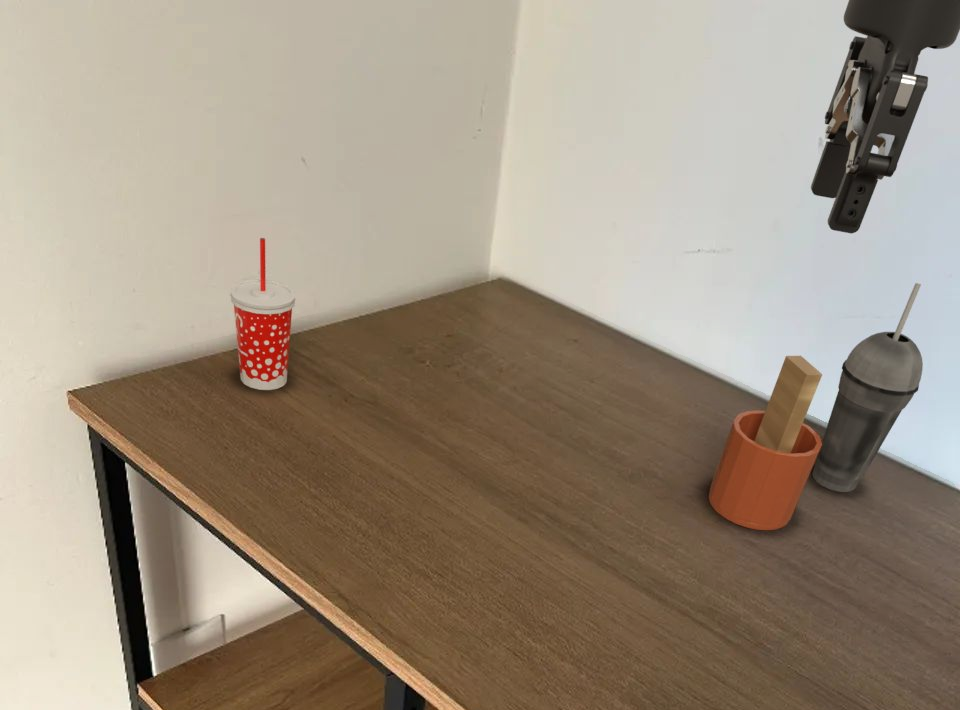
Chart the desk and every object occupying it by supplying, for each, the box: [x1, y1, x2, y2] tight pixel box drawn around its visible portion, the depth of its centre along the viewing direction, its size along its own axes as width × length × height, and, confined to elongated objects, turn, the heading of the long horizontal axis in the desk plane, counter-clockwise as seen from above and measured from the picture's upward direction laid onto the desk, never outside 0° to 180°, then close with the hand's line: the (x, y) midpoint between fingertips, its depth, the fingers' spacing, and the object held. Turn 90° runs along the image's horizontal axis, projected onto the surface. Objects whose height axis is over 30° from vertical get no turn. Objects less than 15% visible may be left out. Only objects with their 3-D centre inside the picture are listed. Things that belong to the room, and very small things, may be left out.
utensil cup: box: [708, 410, 822, 531], centre depth 90 cm, size 8×8×8 cm
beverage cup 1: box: [229, 237, 296, 391], centre depth 93 cm, size 6×6×14 cm
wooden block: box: [754, 355, 823, 453], centre depth 87 cm, size 2×4×14 cm, turn 18°
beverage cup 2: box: [811, 282, 924, 493], centre depth 92 cm, size 7×7×20 cm
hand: (831, 212), depth 73 cm, fingers open, 8 cm apart
